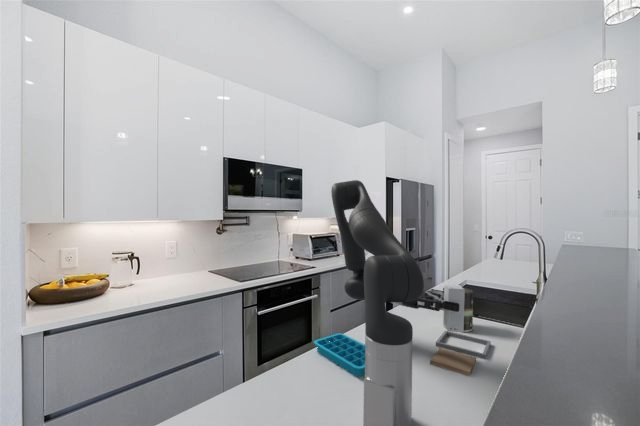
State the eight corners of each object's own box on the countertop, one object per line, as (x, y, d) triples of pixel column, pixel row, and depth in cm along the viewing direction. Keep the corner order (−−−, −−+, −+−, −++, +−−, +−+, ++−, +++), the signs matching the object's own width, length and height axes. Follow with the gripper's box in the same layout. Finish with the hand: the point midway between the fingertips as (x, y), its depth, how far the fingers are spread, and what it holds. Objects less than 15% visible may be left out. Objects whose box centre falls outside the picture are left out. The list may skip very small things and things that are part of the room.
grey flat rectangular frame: (485, 359, 86) (485, 355, 86) (435, 345, 94) (435, 342, 94) (490, 344, 95) (490, 341, 95) (445, 334, 103) (445, 330, 104)
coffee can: (467, 323, 115) (467, 286, 115) (477, 333, 104) (477, 293, 105) (439, 321, 116) (440, 285, 116) (446, 331, 106) (447, 292, 106)
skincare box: (464, 333, 80) (465, 289, 80) (447, 331, 81) (448, 288, 81) (458, 325, 86) (459, 284, 86) (442, 323, 87) (443, 283, 87)
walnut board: (469, 376, 76) (469, 372, 76) (430, 364, 82) (430, 360, 82) (476, 361, 84) (476, 357, 84) (439, 351, 90) (439, 347, 90)
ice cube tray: (340, 341, 97) (340, 332, 97) (388, 367, 81) (389, 356, 81) (311, 351, 90) (311, 341, 90) (358, 381, 74) (358, 369, 74)
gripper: (396, 286, 86) (456, 296, 76) (412, 277, 98) (467, 286, 88) (395, 311, 86) (456, 325, 76) (412, 300, 98) (466, 311, 88)
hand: (462, 304), depth 82 cm, fingers closed on skincare box, 7 cm apart
